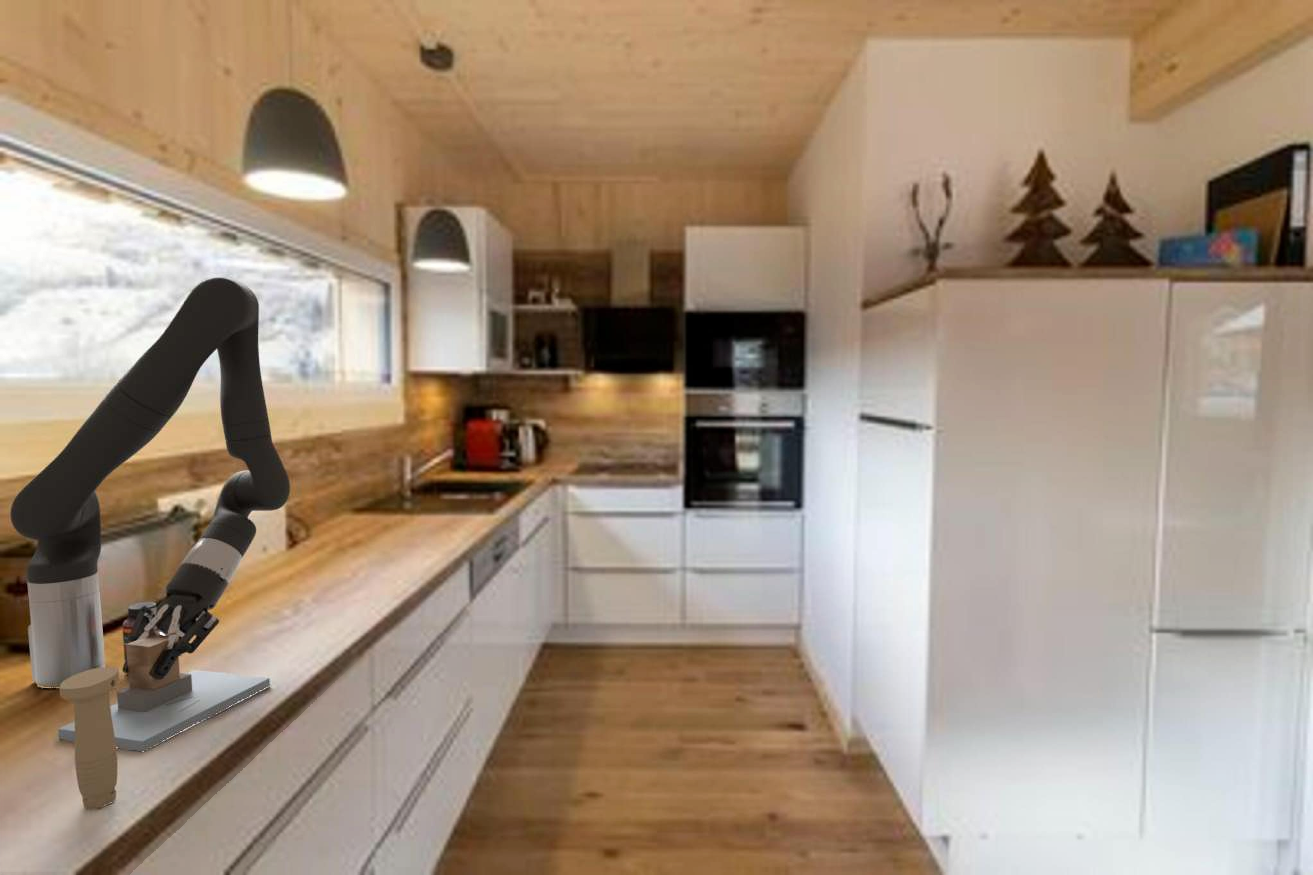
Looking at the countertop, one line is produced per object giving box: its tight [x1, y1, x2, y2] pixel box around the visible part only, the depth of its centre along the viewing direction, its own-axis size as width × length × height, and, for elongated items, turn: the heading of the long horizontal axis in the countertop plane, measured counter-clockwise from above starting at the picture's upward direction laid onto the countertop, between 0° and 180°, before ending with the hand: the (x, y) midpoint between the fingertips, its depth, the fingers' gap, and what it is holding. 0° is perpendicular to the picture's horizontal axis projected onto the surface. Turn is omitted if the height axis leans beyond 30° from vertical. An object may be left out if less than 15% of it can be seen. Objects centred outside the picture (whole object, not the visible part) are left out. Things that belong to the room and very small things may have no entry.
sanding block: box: [116, 635, 192, 712], centre depth 115 cm, size 5×8×9 cm, turn 163°
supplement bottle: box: [121, 601, 162, 663], centre depth 131 cm, size 6×6×11 cm
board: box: [57, 669, 271, 752], centre depth 115 cm, size 15×22×2 cm
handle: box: [58, 666, 120, 811], centre depth 89 cm, size 5×6×15 cm
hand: (141, 675), depth 114 cm, fingers closed on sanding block, 4 cm apart
